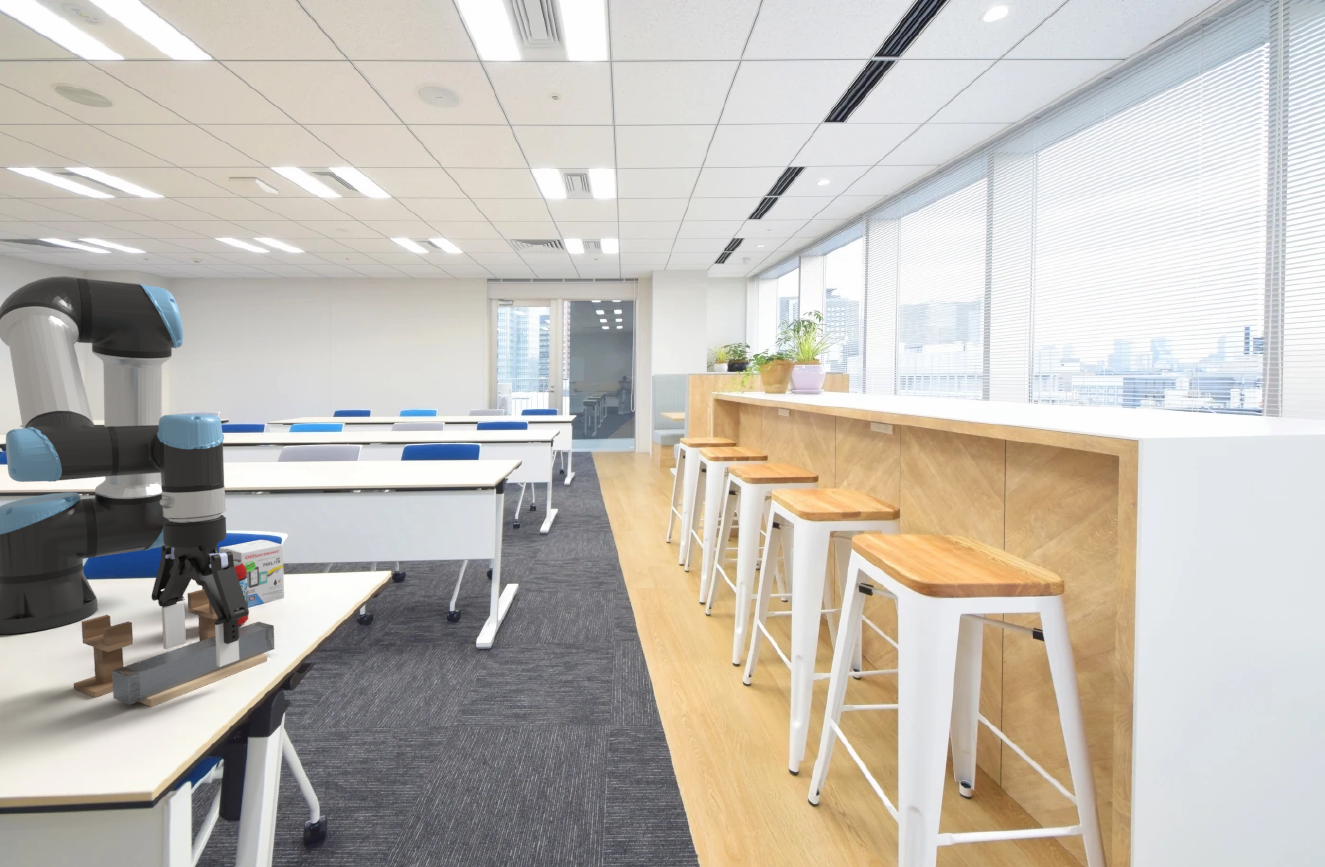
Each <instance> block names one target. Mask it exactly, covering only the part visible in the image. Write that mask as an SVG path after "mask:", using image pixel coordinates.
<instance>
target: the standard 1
mask: <svg viewBox="0 0 1325 867" xmlns="http://www.w3.org/2000/svg"><path fill="white" fill-rule="evenodd" d="M111 624H112V623H111V615H109V614H105V615H101V616H97V617H94V618H90V619H84V620H83V621H81V634H82V635H81V636H82V644H85V645H87V646H89V647H92V648H93V659H94V660H93V661H94V664H93V666H94V676H92V677H89V678H85V679H82V680H79V681H77V682H76V681H75V682H74V683H73V689H74V690H76V691H79V692H80V693H83V694H86V695H89V696H90V697H93V698H98V697H102V696H103V695H106V694H109V693H113V680H112V670H115V669H118V668H121V667H124V653H123V652H124V651H123V648H125V647H129V646H132V645H134V639H133V637H134V636H133V623H132V622H131V621H125V622H121V623H118V624H115V625H111Z"/></svg>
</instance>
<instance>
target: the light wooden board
mask: <svg viewBox="0 0 1325 867" xmlns="http://www.w3.org/2000/svg"><path fill="white" fill-rule="evenodd" d="M267 656H268V655H267V654H265V653H263V654H260V655H258V656H255V657H252V658H250V659H247V660H245V661H242V662H239V663H237V664H234V665H232V666H229V667H226V668H224V669H221V670H219V671H216V672H213V673H211V674H208V675H206V676H203V677H200V678H198V679H195V680H193V681H190V682H187V683H185V684H182V685H180V686H177V687H174V688H172V689H169V690H167V691H164V692H161V693H159V694H156V695H154V696H151V697H148V698H146V699H143V700H141V701H138V702H139V703H141V704H144V705H146V706H148V707H154V706H157V705H159V704H163V703H165V702H166V701H170V700H171V699H172V700H173V699H174V698H177V697H179V696H182V695H184V694H187V693H189V692H192V691H194V690H196V689H200V688H202V687H205V686H207V685H209V684H212V683H215V682H217V681H219V680H222V679H224V678H228V677H229V676H232V675H235V674H237V673H239V672H242V671H245V670H247V669H250V668H252V667H254V666H256V665H257V666H258V665H260V664H262V663H265V662H267V661H268V659H267V658H268V657H267Z"/></svg>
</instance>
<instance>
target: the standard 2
mask: <svg viewBox="0 0 1325 867" xmlns="http://www.w3.org/2000/svg"><path fill="white" fill-rule="evenodd" d="M187 609H188V613H189V614H193V615H197V616H198V635H199V636H198V637H199V638H198V639H199V641H202V640H205V639H208V638H211V637H214V636H216V633H215V624H214V623H215V622H216V620H217V619H218V617H217V615H216V613H215V611H214V609H213V607H212V605H211V603H210V601H209V599H208V597H207V595H206V593H205V591H204V589H202V588H201V589H199V590H195V591H191V592H188V593H187ZM199 641H196V642H199ZM196 642H193V643H196ZM193 643H190V644H193ZM190 644H187V645H190ZM187 645H184V646H187ZM184 646H182V647H184Z"/></svg>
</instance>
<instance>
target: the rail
mask: <svg viewBox="0 0 1325 867" xmlns="http://www.w3.org/2000/svg"><path fill="white" fill-rule="evenodd" d="M238 630H239V633H238V634H239V660H237V661H234V662H232V663H229V664H226V665H224V666H221V667H218V666H217V658H216V636H214V637H211V638H208V639H205V640H202V641H199V642H198V641H196V643H195V642H193V644H192V643H190V645H189V644H187V646H186V645H184V647H183V646H181V647H178V648H175V649H172V650H170V651H167V652H164V653H163V652H162V653H161V654H160V653H159V654H158V655H154V656H151V657H149V658H146V659H145V658H144V659H143V660H140V661H136V662H134V663H131V664H128V665H125V666H124V665H123V667H121V668H118V669H115V670H112V680H113V691H112V694H113V695H112V696H113V699H114V700H117V701H118V702H121V703H124V704H127V705H132V704H135V703H137V702H138V701H141V700H143V699H146V698H148V697H151V696H154V695H156V694H159V693H161V692H164V691H167V690H169V689H172V688H174V687H177V686H180V685H182V684H185V683H187V682H190V681H193V680H195V679H198V678H200V677H203V676H206V675H208V674H211V673H213V672H216V671H219V670H221V669H224V668H226V667H229V666H232V665H234V664H237V663H239V662H242V661H245V660H247V659H250V658H252V657H255V656H258V655H260V654H265V653H267V652H270V651H273V650H275V626H274V625H273V624H269V623H265V622H262V621H256V622H253V623H250V624H247V625H245V626H244V625H243V626H240V627H238Z"/></svg>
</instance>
